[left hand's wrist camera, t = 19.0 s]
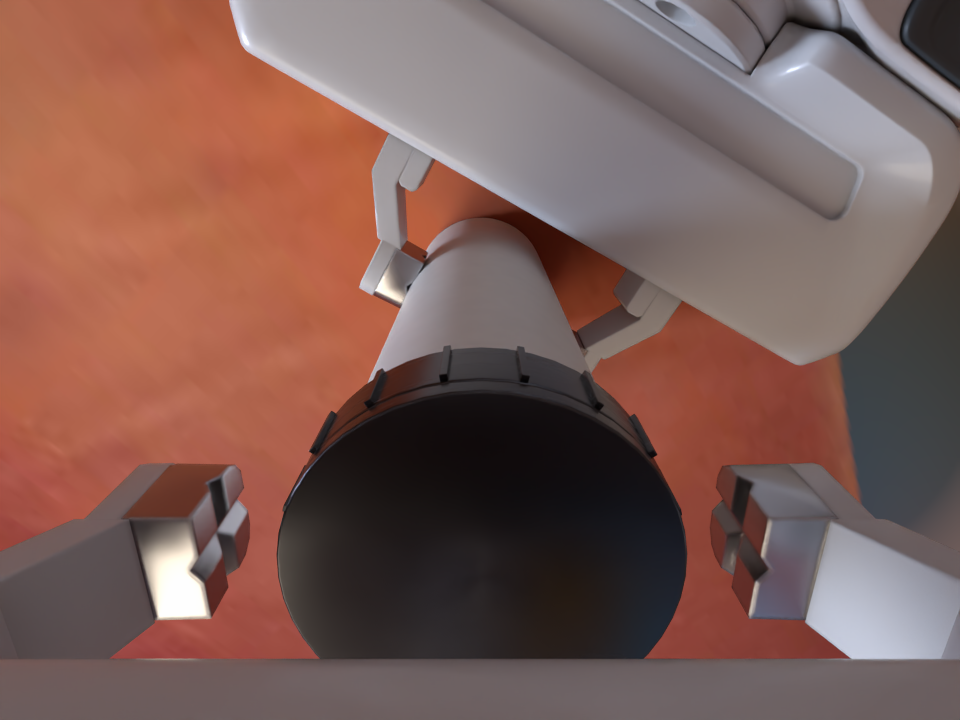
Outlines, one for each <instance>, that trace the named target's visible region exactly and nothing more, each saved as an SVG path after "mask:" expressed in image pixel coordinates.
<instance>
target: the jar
mask: <svg viewBox="0 0 960 720" xmlns="http://www.w3.org/2000/svg"><path fill="white" fill-rule="evenodd" d="M426 251H427V252H428V255H427V258H426V260H425V262H424V264H423V266H422V268H421V270H420V272H419V274H418V276H417V278H416V279H415V280H414V282H413V283H412V284H411V286H410V288H409V291H408V293H407V295H406V297H405V300H404V302H403V304H402V306H401V309H400V311H399V313H398V315H397V318H396V320H395V322H394V325H393V327H392V329H391V331H390V334H389V336H388V338H387V340H386V343H385V345H384V347H383V349H382V352H381V354H380V356H379V358H378V361H377V363H376V365H375V368H374V370H373V372H372V374H371V377H370V379H369V381H368V383H369V382H370V381H372V380H373V379H374V377H375V374H376V372H377V371H378V370H380V369H381V368H383V369H384V371H385V372H386V371H388V370H390V369H392V368H394V367H396V366H399V365H401V364H403V363H405V362H407V361H410V360H413V359H416V358H419V357H422V356H425V355H428V354H432V353H437V352H442V351H443V347H444V346H448V345H451V349H452V350H453V349H463V348H478V347H485V348H502V349H510V350H516V349H517V346H521V347H524V348H525V352H527V353H532V354H535V355H538V356H541V357H544V358H548V359H551V360H554V361H556V362H559V363H561V364H563V365H565V366H567V367H569V368H571V369H574V370H576V371H578V372H579V373H581V374H582V373H583V372H584V371H585V370H586V371H587V372H589V373H590V374H591V372H590V370H589V368H588V365H587V363H586V361H585V359H584V356H583V354H582V352H581V350H580V347H579V345H578V343H577V341H576V339H575V336H574V334H573V332H572V330H571V327H570V325H569V323H568V321H567V318H566V316H565V314H564V312H563V309H562V307H561V305H560V303H559V301H558V298H557V296H556V294H555V292H554V289H553V287H552V285H551V283H550V280H549V278H548V276H547V274H546V271H545V269H544V267H543V265H542V263H541V260H540V258H539V256H538V254H537V251H536V250H535V248H534V246H533V245H532V243H531V242H530V241H529V239H528V238H527V237H526V236H525V235H524V234H523V233H522V232H520V231H519V230H518V229H516V228H515V227H513V226H511V225H510V224H508V223H505V222H503V221H500V220H496V219H492V218H471V219H466V220H463V221H459V222H457V223H455V224H453V225H451V226H449V227H448V228H446V229H445V230H443V231H442V232H441V233H440V234H438V236H437V237H436V238H435V239H434V240H433V241H432V242H431V244H430V245H429V247H428V249H427V250H426ZM591 376H592V374H591ZM592 378H593V377H592ZM593 381H594V379H593ZM594 382H595V381H594Z"/></svg>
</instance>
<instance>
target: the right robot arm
mask: <svg viewBox="0 0 960 720" xmlns="http://www.w3.org/2000/svg"><path fill="white" fill-rule="evenodd" d="M229 2H230V7H231V11H232V14H233V18H234V22H235V25H236V29H237V33H238V36H239V39H240V42H241V44H242V46H243V47H244V49H245V50H246V51H248V52H249V53H250V54H252V55H254V56H256V57H257V58H259V59H261V60H262V61H264V62H266V63H268V64H269V65H271V66H273V67H275V68H276V69H278V70H280V71H282V72H283V73H285V74H287V75H289V76H290V77H292V78H294V79H296V80H297V81H299V82H301V83H303V84H304V85H306V86H308V87H310V88H311V89H313V90H315V91H317V92H318V93H320V94H322V95H324V96H325V97H327V98H329V99H331V100H332V101H334V102H336V103H338V104H339V105H341V106H343V107H345V108H346V109H348V110H350V111H352V112H353V113H355V114H357V115H359V116H360V117H362V118H364V119H366V120H367V121H369V122H371V123H373V124H374V125H376V126H378V127H380V128H381V129H383V130H385V131H387V132H388V133H389V134H388V136H387V139H386V141H385V143H384V145H383V147H382V149H381V151H380V154H379V156H378V158H377V160H376V162H375V164H374V167H373V169H372V179H373V190H374V202H375V213H376V224H377V235H378V238H379V239H380V240H381V242H380V244H379V246H378V248H377V250H376V252H375V254H374V256H373V258H372V260H371V262H370V264H369V267H368V269H367V271H366V273H365V275H364V277H363V279H362V281H361V284H360V286H359V288H361V289H362V290H364V291H366V292H367V293H369V294H371V295H374V296H376V297H378V298H380V299H382V300H384V301H386V302H388V303H390V304H392V305H394V306H396V307H398V308H401V306H402V304H403V302H404V300H405V297H406V295H407V293H408V291H409V288H410V286H411V284H412V283H413V282H414V280H415V279H416V278H417V276H418V274H419V272H420V270H421V268H422V266H423V264H424V262H425V260H426V258H427V255H428V252H427V251H425V250H423V249H421V248H420V247H418V246H416V245H414V244H413V243H411V242H409V241H407V218H406V197H405V188H406V189H408V190H410V191H411V192H412V191H415V190H417V189H418V188H419V187H420V186H421V185H422V184H423V183H424V181H425V179H426V177H427V175H428V173H429V171H430V169H431V167H432V165H433V163H434V161H435V159H436V160H437V161H439V162H441V163H443V164H444V165H446V166H448V167H450V168H451V169H453V170H455V171H457V172H458V173H460V174H462V175H464V176H465V177H467V178H469V179H471V180H472V181H474V182H476V183H478V184H479V185H481V186H483V187H485V188H486V189H488V190H490V191H492V192H493V193H495V194H497V195H499V196H500V197H502V198H504V199H506V200H507V201H509V202H511V203H513V204H514V205H516V206H518V207H520V208H521V209H523V210H525V211H527V212H528V213H530V214H532V215H534V216H535V217H537V218H539V219H541V220H542V221H544V222H546V223H548V224H549V225H551V226H553V227H555V228H556V229H558V230H560V231H562V232H563V233H565V234H567V235H569V236H570V237H572V238H574V239H576V240H577V241H579V242H581V243H583V244H584V245H586V246H588V247H590V248H591V249H593V250H595V251H597V252H598V253H600V254H602V255H604V256H605V257H607V258H609V259H611V260H612V261H614V262H616V263H618V264H619V265H621V266H623V267H625V268H626V271H625V272H624V274H623V276H622V277H621V279H620V280H619V282H618V284H617V285H616V287H615V288H614V290H613V292H614V295H615V297H616V298H617V299H618V300H619V302H620V303H621V305H620V306H618V307H616V308H614V309H613V310H611V311H609V312H608V313H606V314H604V315H603V316H601V317H599V318H597V319H596V320H594V321H592V322H591V323H589V324H587V325H586V326H584V327H582V328H580V329H579V330H577V332H576V331H574V330H572V329H571V330H572V332H573V334H574V336H575V339H576V341H577V343H578V345H579V347H580V350H581V352H582V354H583V356H584V359H585V361H586V363H587V365H588V368H589V370H590V372H591V373H592V371H593V370H594V368H595V367H596V365H597V364H598V362H599V361H600V359H601V358H603V359H607V358H609V357H611V356H613V355H615V354H617V353H619V352H621V351H623V350H625V349H627V348H629V347H631V346H633V345H635V344H637V343H639V342H641V341H643V340H645V339H647V338H649V337H651V336H653V335H655V334H657V333H659V332H661V330H662V329H663V327H664V326H665V324H666V323H667V322H668V320H669V319H670V317H671V316H672V314H673V313H674V312H675V310H676V309H677V307H678V306H679V304H680V303H681V302H682V301H684V302H686V303H688V304H689V305H691V306H693V307H695V308H696V309H698V310H700V311H702V312H703V313H705V314H707V315H709V316H710V317H712V318H714V319H716V320H717V321H719V322H721V323H723V324H724V325H726V326H728V327H730V328H731V329H733V330H735V331H737V332H738V333H740V334H742V335H744V336H745V337H747V338H749V339H751V340H752V341H754V342H756V343H758V344H759V345H761V346H763V347H765V348H766V349H768V350H770V351H772V352H773V353H775V354H777V355H779V356H781V357H782V358H784V359H786V360H788V361H789V362H791V363H793V364H796V365H805V364H808V363H811V362H814V361H817V360H820V359H823V358H825V357H828V356H830V355H833V354H835V353H838V352H840V351H841V350H843V349H844V348H846V347H847V346H848V345H849V344H850V343H851V342H852V341H853V340H854V339H855V338H856V337H857V336H858V335H859V334H860V333H861V331H862V330H863V329H864V328H865V327H866V326H867V325H868V323H869V322H870V321H871V320H872V319H873V317H874V316H875V315H876V314H877V312H878V311H879V310H880V309H881V308H882V306H883V305H884V304H885V303H886V301H887V300H888V299H889V297H890V296H891V295H892V294H893V292H894V291H895V290H896V288H897V287H898V286H899V284H900V283H901V282H902V280H903V279H904V278H905V276H906V275H907V274H908V272H909V271H910V269H911V268H912V267H913V265H914V264H915V263H916V261H917V260H918V259H919V257H920V256H921V254H922V253H923V251H924V250H925V248H926V247H927V246H928V244H929V243H930V241H931V240H932V238H933V237H934V235H935V234H936V232H937V231H938V229H939V228H940V226H941V225H942V223H943V222H944V220H945V219H946V217H947V215H948V213H949V212H950V210H951V208H952V206H953V204H954V202H955V200H956V198H957V196H958V193H959V191H960V132H959V130H958V129H957V127H960V0H229Z"/></svg>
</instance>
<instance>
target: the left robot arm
mask: <svg viewBox="0 0 960 720" xmlns="http://www.w3.org/2000/svg"><path fill="white" fill-rule="evenodd" d="M243 489H244V485H243V480H242V475H241V470H240V469H239V468H238V467H237V466H236V465H227V464H174V463H150V464H142V465H139V466H138V467H137V468H136V469H135V470H134V471H133V472H132V473H131V474H130V475H129V476H128V477H127V478H126V479H125V480H124V481H123V482H122V483H121V484H120V485H119V486H118V487H117V488H115V489H114V490H113V491H112V492H111V493H110V494H109V495H108V496H107V497H106V498H105V499H104V500H103V501H102V502H101V503H100V504H99V505H98V506H97V507H96V508H95V509H94V510H93V511H92V512H91V513H90V514H89V515H88V516H87V517H86V518H85V519H74V520H71V521H69V522H67V523H64V524H62V525H60V526H58V527H55V528H53V529H51V530H48V531H46V532H44V533H42V534H39V535H37V536H35V537H32V538H30V539H28V540H25V541H23V542H21V543H19V544H16V545H14V546H12V547H9V548H7V549H5V550H3V551H0V720H960V551H957V550H955V549H953V548H950V547H948V546H946V545H943V544H941V543H939V542H937V541H934V540H932V539H930V538H927V537H925V536H923V535H921V534H918V533H916V532H914V531H911V530H909V529H907V528H905V527H902V526H900V525H898V524H895V523H893V522H891V521H889V520H886V519H875V518H874V517H873V516H872V515H871V514H870V513H869V512H868V511H867V510H866V509H865V508H864V507H863V506H862V505H861V504H860V503H859V502H858V501H857V500H856V499H855V498H854V497H853V496H852V495H851V494H850V493H849V492H848V491H847V490H846V489H845V488H844V487H843V486H842V485H841V484H840V483H839V482H837V481H836V480H835V479H834V478H833V477H832V476H831V475H830V474H829V473H828V472H827V471H826V470H825V469H824V468H823V467H822V466H821V465H818V464H815V463H797V464H760V465H727V466H722V468H721V470H720V472H719V474H718V479H717V484H716V489H717V490H718V492H719V493H720V495H721V497H722V498H723V500H722V501H721V502H720V503H719V504H718V505H717V506H716V507H715V508H714V509H713V510H712V515H711V523H710V535H711V545H712V548H713V551H714V555H715V557H716V559H717V561H718V563H719V565H720V567H721V568H723V569H724V570H726V571H727V572H729V573H730V574H732V575H733V576H734V577H733V582H732V589H733V591H734V592H735V594H736V596H737V598H738V600H739V601H740V603H741V605H742V607H743V608H744V610H745V612H746V614H747V616H748V617H749V619H782V620H806V621H805V623H806V624H808V625H809V626H810V627H811V628H813V629H814V630H815V631H817V632H818V633H819V634H820V635H822V636H823V637H824V638H826V639H827V640H828V641H829V642H831V643H832V644H833V645H834V646H836V647H837V648H838V649H840V650H841V651H842V652H843V653H845V654H846V655H847V656H849V657H850V658H851V659H109V658H110V657H112V656H113V655H114V654H115V653H117V652H118V651H119V650H121V649H122V648H123V647H124V646H126V645H127V644H128V643H130V642H131V641H132V640H133V639H135V638H136V637H137V636H139V635H140V634H141V633H142V632H144V631H145V630H146V629H148V628H149V627H150V626H151V625H153V624H154V623H155V622H154V620H177V619H211V618H212V616H213V614H214V612H215V610H216V609H217V607H218V605H219V603H220V601H221V600H222V598H223V596H224V594H225V592H226V591H227V589H228V582H227V577H226V576H227V575H228V574H230V573H231V572H233V571H234V570H236V569H237V568H239V567H240V565H241V563H242V561H243V559H244V557H245V555H246V551H247V547H248V543H249V538H250V521H249V514H248V510H247V509H246V508H245V507H244V506H243V505H242V504H241V503H240V502H239V501H238V500H237V498H238V497H239V495H240V493H241V492H242V490H243Z"/></svg>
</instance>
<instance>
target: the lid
mask: <svg viewBox="0 0 960 720" xmlns="http://www.w3.org/2000/svg"><path fill="white" fill-rule="evenodd" d="M309 452H311V453H312V455H311V457H310V459H309V461H308V463H307V465H305V466H304V468H303V469H302V471H301V473H300V475H299V477H298V479H297V481H296V483H295V485H294V487H293V489H292V491H291V493H290V494H289V496H288V498H287V500H286V502H285V504H284V506H283V512H284V514H283V518H282V522H281V526H280V529H279V534H278V546H277V565H278V578H279V582H280V586H281V590H282V594H283V599H284V601H285V604H286V606H287V609H288V611H289V613H290V616H291V618H292V620H293V622H294V624H295V625H296V627H297V629H298V630H299V632H300V634H301V635H302V637H303V639H304V640H305V641H306V642H307V644H308V645H309V646H310V647H311V649H312V650H313V651H314V652H315V654H316V655H317V656H318V657H319V658H320V659H644V658H645V657H646V656H647V655H648V654H649V652H650V651H651V650H652V649H653V647H654V646H655V645H656V643H657V642H658V641H659V640H660V638H661V637H662V635H663V634H664V632H665V630H666V629H667V627H668V625H669V623H670V622H671V620H672V618H673V616H674V613H675V611H676V608H677V606H678V603H679V601H680V598H681V594H682V590H683V586H684V581H685V577H686V564H687V546H686V536H685V529H684V526H683V522H682V518H681V515H682V512H681V509H680V507H679V505H678V503H677V501H676V499H675V497H674V495H673V493H672V491H671V489H670V488H669V486H668V484H667V482H666V480H665V478H664V476H663V474H662V472H661V470H660V469H659V467H658V465H657V463H656V461H655V459H654V457H655V456H656V455H657V453H656V451H655V449H654V448H653V446H652V444H651V442H650V440H649V438H648V436H647V435H646V433H645V431H644V429H643V427H642V425H641V423H640V422H639V420H638V418H637V417H636V415H635V414H633V415H632V416H629V414H628V413H627V412H626V411H625V410H624V409H623V408H622V407H621V405H620V404H619V403H618V402H617V401H616V400H615V399H614V398H613V397H612V396H611V395H610V394H608V393H607V392H606V391H605V390H604V389H603V388H601V387H600V386H599V385H598V384H597V383H595V382H594V381H593V378H592V376H591V374H590V373H589V372H587V371H586V370H585V371H584V372H583V373H582V374H581V373H579V372H578V371H576V370H574V369H571V368H569V367H567V366H565V365H563V364H561V363H559V362H556V361H554V360H551V359H548V358H544V357H541V356H538V355H535V354H532V353H527V352H525V348H524V347H521V346H517V349H516V350H510V349H502V348H485V347H478V348H463V349H453V350H452V349H451V345H448V346H444V347H443V351H442V352H437V353H432V354H428V355H425V356H422V357H419V358H416V359H413V360H410V361H407V362H405V363H403V364H401V365H399V366H396V367H394V368H392V369H390V370H388V371H386V372H385V371H384V369H383V368H381V369H380V370H378V371H377V372H376V374H375V377H374V379H373V380H372V381H370V382H369V383H367V384H366V385H364V386H363V387H362V388H361V389H360V390H359V391H358V392H356V393H355V394H354V395H353V396H352V397H351V398H349V399H348V400H347V401H346V403H345V404H344V405H343V406H342V407H341V408H340V410H339V411H338V412H337V413H334V412H333V411H331V412H330V413H329V415H328V416H327V418H326V420H325V422H324V424H323V426H322V428H321V429H320V431H319V433H318V435H317V437H316V439H315V441H314V443H313V445H312V446H311V448H310V450H309Z"/></svg>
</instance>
